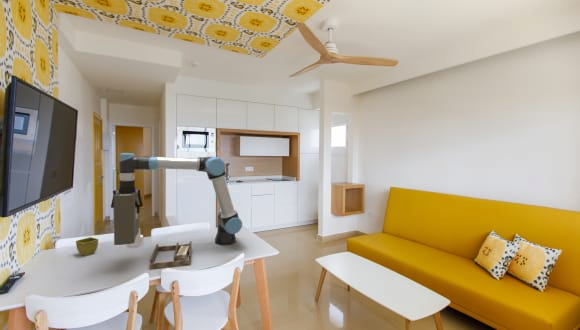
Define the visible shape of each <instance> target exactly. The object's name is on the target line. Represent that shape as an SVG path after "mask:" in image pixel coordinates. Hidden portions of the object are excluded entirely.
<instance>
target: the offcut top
mask: <svg viewBox="0 0 580 330" xmlns="http://www.w3.org/2000/svg"><path fill="white" fill-rule="evenodd" d="M188 251H189V246H181V247H180V249H179V250H178V253H177V255H176V259H182V258H186V256H187V253H188V254H189V252H188ZM187 257H188V256H187Z"/></svg>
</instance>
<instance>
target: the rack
mask: <svg viewBox="0 0 580 330" xmlns="http://www.w3.org/2000/svg"><path fill="white" fill-rule="evenodd" d="M181 246H189V252H188V259H187V260H180V261H177V259H176V255H177V253H178V251H179V249H180V247H181ZM154 247H155V248H154V250H153V251H152V254H151V256H150V258H149V270H157V269H168V268H176V267H184V266H185V267H186V266H191V264H192V263H191V262H192V241H189V243H186V244H179V242H176V244H174V245H173V244H172V245H164V246H163V245H161V246H159V243H157V244H156V245H155V246H154ZM167 251H168V252H169V251H174V253H173V261H162V262H161V261H160V262H155V261H156V259H157V256H158V254H159V253H160V252H167Z"/></svg>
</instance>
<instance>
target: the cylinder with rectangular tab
mask: <svg viewBox="0 0 580 330" xmlns="http://www.w3.org/2000/svg"><path fill="white" fill-rule="evenodd" d="M127 246H128V248H139V247H142V246H144V235H143V234H141V228H140V227H139V233H138V234H137V236H136V238H135V242H134V243H132V244H127Z"/></svg>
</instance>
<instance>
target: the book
mask: <svg viewBox="0 0 580 330" xmlns="http://www.w3.org/2000/svg"><path fill="white" fill-rule="evenodd" d="M135 189H137V190H140V188H139V187H135ZM135 200H137V202H138V204H139V205H140V203H139V199H138V193H136V191H135V192H133V193H132V194H121V193H120V192H118V193H117V194H115V195H114V208H113V241H114V242H113V245H114V246H122V245H123V246H124V245H128V244H132V243H134V242H135V238H136V236H137V234H138V233H139V228H140V212H139V213H138V218H137V219H135V208H136V205H135Z"/></svg>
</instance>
